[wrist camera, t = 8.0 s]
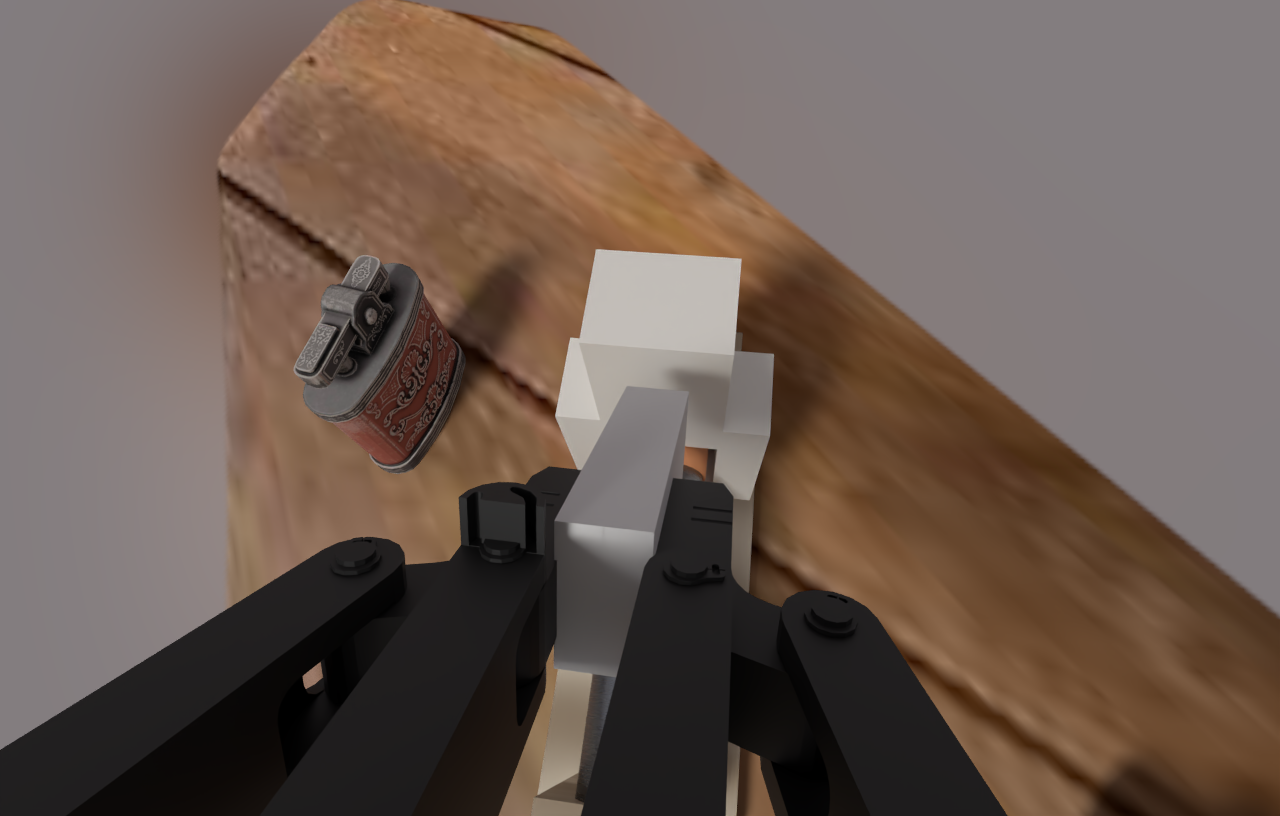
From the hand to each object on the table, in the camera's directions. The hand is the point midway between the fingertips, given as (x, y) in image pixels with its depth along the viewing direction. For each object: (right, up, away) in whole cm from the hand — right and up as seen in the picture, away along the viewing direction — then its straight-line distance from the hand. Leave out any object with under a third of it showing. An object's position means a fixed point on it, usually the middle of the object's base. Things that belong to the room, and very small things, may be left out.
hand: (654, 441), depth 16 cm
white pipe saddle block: (+1, -1, +12) cm, 12 cm away
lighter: (-12, +1, +20) cm, 24 cm away
